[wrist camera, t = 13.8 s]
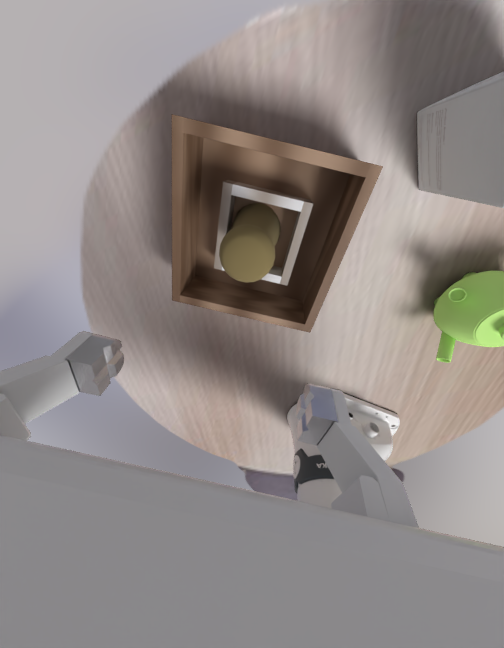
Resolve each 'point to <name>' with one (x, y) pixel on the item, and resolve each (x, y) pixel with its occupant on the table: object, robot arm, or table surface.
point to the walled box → (277, 193)
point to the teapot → (471, 312)
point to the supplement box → (464, 144)
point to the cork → (250, 243)
